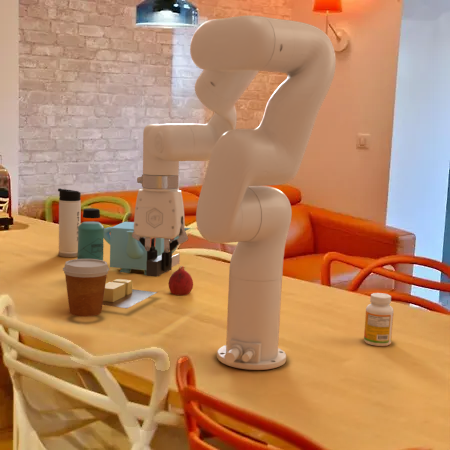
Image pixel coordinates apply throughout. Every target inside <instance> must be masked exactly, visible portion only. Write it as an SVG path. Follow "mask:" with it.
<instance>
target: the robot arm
mask: <svg viewBox="0 0 450 450" xmlns="http://www.w3.org/2000/svg"><path fill="white" fill-rule="evenodd" d="M189 53H190V57H191V60H192V62H193V64H194V66H196V67H197V68H199V69H200V70H202V72H201V73H200V75H199V76H198V77H197V78H196V80H195V83H194V92H195V96H196V97H197V99H198V100H199V101H200V103H201V104H202V105H203V106H205V107H206V109H208V110H210V111H211V112H213V115H212V116H211V117H210V119H209V120H208V121H207V122H206V123H160V124H159V123H150V124H147V125H145V127H144V128H143V132H142V133H143V134H142V137H143V138H142V174H141V176H138V177H137V178H136V183H138V184H140V185H141V187H142V188H140V189H138V191H137V195H136V201H135V207H134V216H133V217H134V218H133V222H134V231H133V233H132V237H133V238H134V239H136V240H138V241H140V243H141V244H142V245H143V246H144V247H145V250H146V251H147V261H148V260H150V259H153V258H155V257H157V249H155V241H156V238H164V252H163V253H162V271H167V270H169V269H170V267H171V265H172V256H173V254H172V251H173V250H174V249H175V248H176V247H177V248H178V246H179V245H182V244H184V243H186V242H188V241H189V237H188V234H187V232H186V231H185V229H184V228H186V227H185V225H186V224H185V208H184V207H185V206H184V199H183V198H184V197H183V194H182V190H180V189H179V182H180V181H179V179H180V178H179V177H180V176H179V174H180V172H179V171H180V162H207V161H208V164H207V167H206V172H205V175H204V178H203V181H202V185H201V189H200V192H199V196H198V201H197V205H196V211H195V213H196V214H195V221H196V226H197V230H198V232H199V234H200V236H201V237H203V239H204V240H206V241H208V242H209V243H213V244H233V243H236V245H235V247H234V249H233V252H232V254H231V258H230V260H229V261H230V262H229V272H228V294H227V314H226V315H227V318H226V338H225V339H226V340H225V344H224V345H223V346H221V347H219V348H218V349H217V351H216V358H217V360H218V361H219V362H221V363H222V364H224V365H226V366H229V367H231V368H236V369H240V370H249V371H263V370H272V369H276V368H279V367H281V366H283V365H285V363H286V362H287V353H286V352H285V351H284V350H283V349H281V348H279V343H280V342H279V341H280V323H281V308H282V307H281V304H282V290H283V289H282V288H283V287H282V286H283V273H284V272H283V271H284V257H285V249H286V243H287V239H288V236H289V231H290V227H291V223H292V217H293V216H292V215H293V214H292V213H293V211H292V205H291V203H290V199H289V198H288V197H287V195H286V194H285V193H284V192H283V191H281V189H278V188H276V187H274V186H280V185H286V184H289V183H291V182H292V181H293V180H294V179H295V178H296V176H297V175H298V172H299V170H300V168H301V165H302V162H303V159H304V156H305V153H306V151H307V147H308V144H309V142H310V139H311V136H312V132H313V130H314V126H315V123H316V121H317V117H318V114H319V112H320V110H321V107H322V106H323V103H324V101H325V99H326V97H327V95H328V93H329V91H330V88H331V86H332V84H333V80H334V77H335V73H336V67H337V65H336V63H337V59H336V52H335V48H334V45H333V42H332V40H331V38H330V37H329V36H328V35H327V33H326V32H325V31H323V30H322V29H321V28H319V27H317V26H314V25H313V24H310V23H306V22H302V21H297V20H291V19H282V18H274V17H267V16H262V15H261V16H260V15H238V16H231V17H224V18H216V19H209V20H207V21H205V22H203V23H202V24H201V25H200V26H198V27H197V29H196V30H195V32H194V33H193V36H192V37H191V40H190V45H189ZM260 72H266V73H267V72H268V73H279V74H280V73H281V74H286V75H287V77H286V78H285V80H284V81H283V82H282V83H281V84H279V86H278V87H277V88H276V89H275V90H274V91H273V93H272V94H271V96H270V97H269V99H268V101H267V103H266V106H265V108H264V113H263V116H262V119H261V122H260V124H259V126H258V127H255V128H237V121H238V116H237V115H238V114H237V113H238V112H237V108H236V106H235V105H236V104H237V103H238V101H239V100H240V99H241V97H242V96H243V95H244V93H245V91H247V89H248V87H249V86H250V84H251V83H252V82H253V80H254V79H255V78H256V76H257V75H258V73H260ZM177 236H179V238H178V239H176V240H174V238H175V237H177ZM177 248H176V249H177Z"/></svg>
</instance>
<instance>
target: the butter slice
mask: <svg viewBox="0 0 450 450" xmlns="http://www.w3.org/2000/svg"><path fill="white" fill-rule="evenodd" d="M111 282H116V283H124V284H125V295H129V294H131V293H132V289H133V280H132V279H124V278H116V279H112V281H111Z"/></svg>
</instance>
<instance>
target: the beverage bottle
mask: <svg viewBox="0 0 450 450" xmlns="http://www.w3.org/2000/svg"><path fill="white" fill-rule="evenodd" d="M82 218H83V219H100V218H101V211H100V208H94V207H93V208H92V207H89V208H83V209H82ZM104 229H105V227H104V226H103V224H102V223H101V222H99V221H83V222H80V225H79V226H78V254H77V257H76V259H97V260H103V261H104V248H105V245H104V243H105V242H104Z"/></svg>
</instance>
